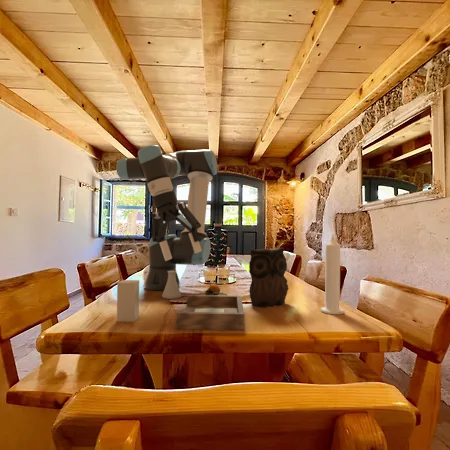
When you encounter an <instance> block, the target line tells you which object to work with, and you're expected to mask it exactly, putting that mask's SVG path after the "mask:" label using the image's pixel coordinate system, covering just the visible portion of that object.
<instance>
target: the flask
mask: <svg viewBox="0 0 450 450" xmlns="http://www.w3.org/2000/svg"><path fill="white" fill-rule="evenodd" d="M176 272H177V270H176V271H168V281H167V284H166V287H165V289H164V290H163V292H162V295H161V297H162V298H163V299H166V300H174V299H179V298H182V296H183V295H182V294H181V291H180V287H179V288H178V285H177V282H176Z"/></svg>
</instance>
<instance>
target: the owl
mask: <svg viewBox="0 0 450 450" xmlns="http://www.w3.org/2000/svg"><path fill="white" fill-rule="evenodd" d="M284 251H285V248H284V247H279V248H260V249H259V248H258V249H255V248H251V249H250V251H249V254H250V260H249V262H248V263H249V264H248V265H249V266H248V267H249V269H248V272H249V274H250V278H251V282H250V284H249V285H250V286H249V297H250V303H251V306H252V307H254V308H270V307H272V308H273V307H280V306H282V305H284V304H285V303H286V298H287V294H288V291H289V285H288V280H287V278H286V277H285V273H286V272H287V270H288V263H287V258H286V256H285V254H284Z"/></svg>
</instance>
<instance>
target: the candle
mask: <svg viewBox="0 0 450 450" xmlns="http://www.w3.org/2000/svg"><path fill="white" fill-rule="evenodd" d="M324 266H325V267H324V268H325V271H324V272H325V274H324V275H325V276H324V279H325V281H324V284H325V285H324V289H325V291H324V306H322V307H321V308H320V311H321V312H322V313H325V314H327V315H342V314H344V313H345V310H344V308H341V307H340V305H341V304H340V301H341V295H340V294H341V293H340V292H341V288H340V287H341V244H339V243H338V242H337V241H336V239H335V235H334V234H332V235H331V237H330V241H329V242H327V243H326V244H325V264H324Z"/></svg>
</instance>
